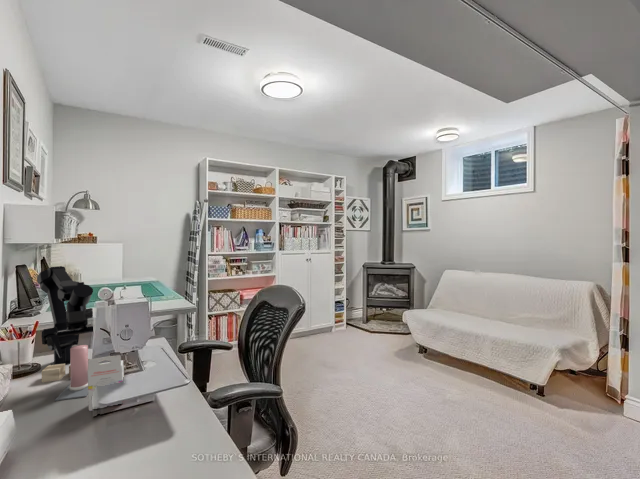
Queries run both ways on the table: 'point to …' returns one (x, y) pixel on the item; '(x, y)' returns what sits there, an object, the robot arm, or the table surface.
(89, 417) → the table surface
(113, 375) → the ink cartridge box
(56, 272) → the robot arm
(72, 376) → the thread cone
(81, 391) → the slate mat
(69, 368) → the walnut block
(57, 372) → the birch block
